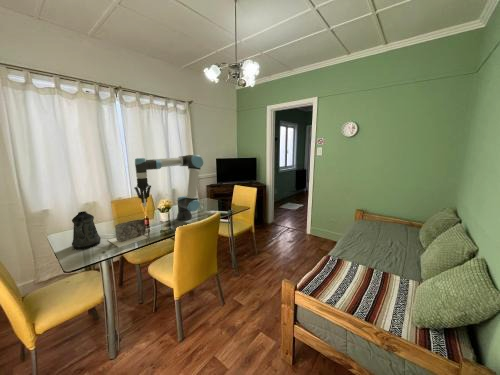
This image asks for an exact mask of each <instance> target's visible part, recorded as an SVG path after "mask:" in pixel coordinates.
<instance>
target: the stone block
mask: <svg viewBox="0 0 500 375" xmlns="http://www.w3.org/2000/svg"><path fill="white" fill-rule="evenodd" d="M146 234H147V232H146V220H145V219H144V218H142V219H134V220H130V221H126V222H121V223H118V224H116V225H115V238H116V239H117V240H118V241H119V242H124V241H126V240H130V239H132V238H135V237H138V236H141V235H146Z"/></svg>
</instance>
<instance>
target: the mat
mask: <svg viewBox="0 0 500 375" xmlns="http://www.w3.org/2000/svg"><path fill="white" fill-rule="evenodd" d="M149 238H150V236H148V235H146V234H144V235H141V236H138V237H135V238H132V239H130V240H126V241H124V242H119V241H118V240H117V239H116V237H114V238H111V239H110V238H109V239H107V242H109V243H110V244H112V245H114V246H115V247H117V248H118V249H119V248H122V247H126V246H128V245H132V244H134V243H137V242H141V241H143V240H147V239H149Z"/></svg>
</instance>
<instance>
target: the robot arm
mask: <svg viewBox="0 0 500 375" xmlns="http://www.w3.org/2000/svg"><path fill="white" fill-rule="evenodd" d="M203 165H204V159H203V157H202V156H201V155H199V154H188V155H187V154H186V155H181V156H178V157H168V158H154V159H146V158H144V157H141V158H140V157H138V158H135V159H134V168H135V175H136V176H135V177H136V183H137V185H136V186H134V187H133V189H134V190H135V192H136V194H137V197H138V199H140V200H141V204H142V207H144V208H146V207H148V206H147V202H148V198H150V194H151V193H150V192H151V188H152V185H150V184H149V183H148V182H149V180H148V174H147V173H148V171H149V170H160V169H162V168H167V167H168V168H169V167H177V166H179V167H187V169H188V171H189V173H188V183H187V184H188V185H187V194H186V195H183V196H178V197H177V200H176V201H177V215H176V220H177V219H178V220H177V221H181V220H184V221H190V220H191V218H192V219H193V214H192V213H193V212H197V211H198V210H199V208H200V206H201V203H200V201H199V197H198V195H197V194H198V184H199V172H200V171H201V168H202V167H203Z"/></svg>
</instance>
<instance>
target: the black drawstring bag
mask: <svg viewBox="0 0 500 375" xmlns="http://www.w3.org/2000/svg"><path fill="white" fill-rule="evenodd" d="M94 220H95V216H94V215H93V214H90V213H88V212H87V211H85V210H84V211H83V210H82V211H78V213H77V215H76V214H75V216H74V217H73V218H72V219H71V222H72V223H73V229H72V230H73V234H72V235H73V236H72V242H71V246H72V248H73V250H75V249H76V251H80V250H88V249H92V248H95V247H97V246H99V245H100V244H101V241H102V240H101V236H100V234H99V233H98V230H97V228H96V225H95V221H94Z"/></svg>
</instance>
